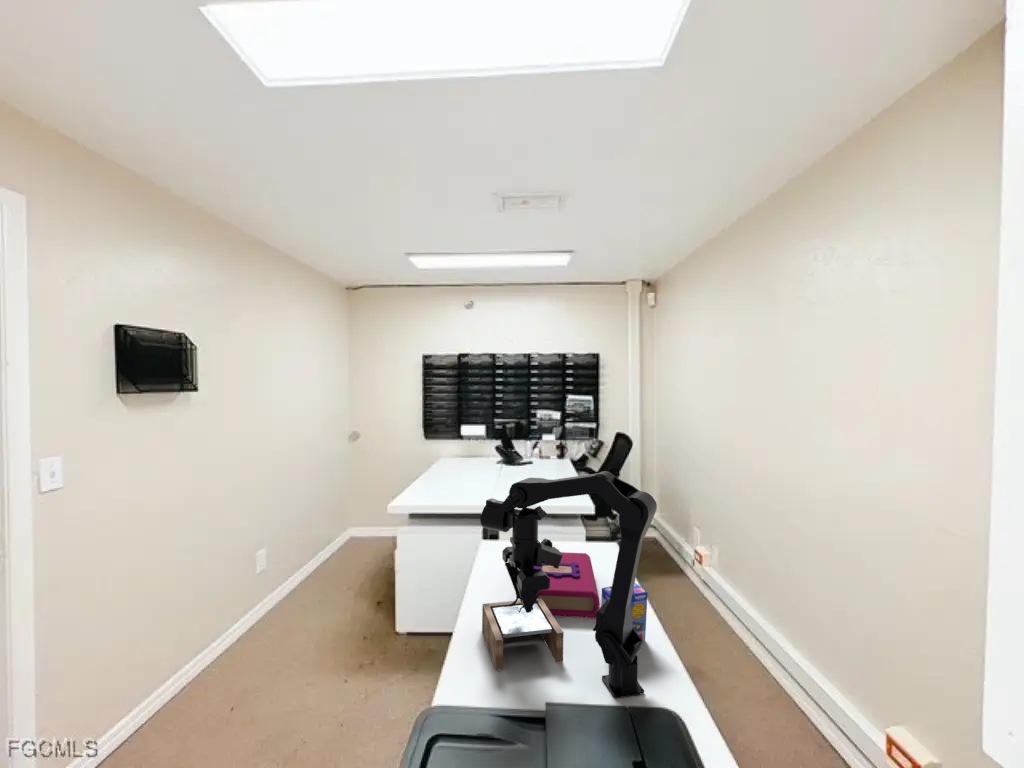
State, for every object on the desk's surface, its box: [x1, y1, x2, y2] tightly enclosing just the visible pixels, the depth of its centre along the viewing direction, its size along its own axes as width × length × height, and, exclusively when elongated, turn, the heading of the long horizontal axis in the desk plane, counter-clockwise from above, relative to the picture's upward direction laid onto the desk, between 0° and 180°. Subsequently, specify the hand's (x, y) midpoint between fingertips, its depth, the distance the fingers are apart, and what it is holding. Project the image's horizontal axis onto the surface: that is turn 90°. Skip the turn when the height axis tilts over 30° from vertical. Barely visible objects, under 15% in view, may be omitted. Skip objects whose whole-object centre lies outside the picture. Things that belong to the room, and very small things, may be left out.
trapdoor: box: [493, 604, 552, 639], centre depth 113 cm, size 12×11×1 cm
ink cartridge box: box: [600, 582, 648, 643], centre depth 117 cm, size 10×6×14 cm, turn 111°
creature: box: [506, 592, 543, 613], centre depth 111 cm, size 8×5×8 cm
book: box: [534, 551, 600, 619], centre depth 141 cm, size 21×28×8 cm
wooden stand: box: [481, 598, 564, 672], centre depth 114 cm, size 16×15×6 cm
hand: (523, 604), depth 110 cm, fingers closed on creature, 7 cm apart
